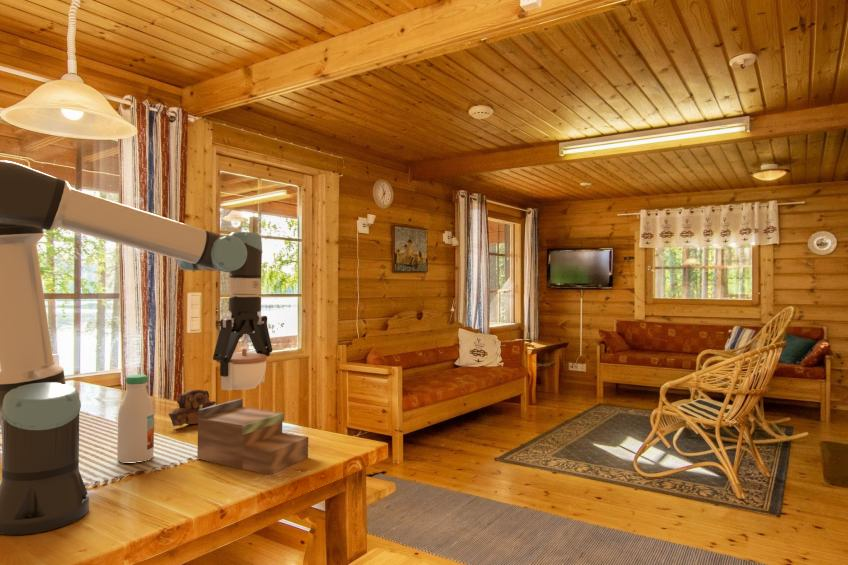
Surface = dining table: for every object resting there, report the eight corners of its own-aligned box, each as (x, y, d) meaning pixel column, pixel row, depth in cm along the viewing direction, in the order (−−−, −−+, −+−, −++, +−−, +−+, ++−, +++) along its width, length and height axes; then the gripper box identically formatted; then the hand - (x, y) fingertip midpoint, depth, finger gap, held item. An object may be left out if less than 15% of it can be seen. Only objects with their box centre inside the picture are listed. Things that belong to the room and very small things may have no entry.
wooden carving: (180, 432, 162) (181, 396, 162) (167, 430, 163) (167, 395, 163) (218, 418, 177) (219, 385, 177) (206, 417, 179) (206, 384, 179)
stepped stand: (270, 474, 129) (271, 421, 129) (197, 459, 139) (198, 409, 138) (308, 457, 142) (309, 408, 142) (239, 444, 151) (239, 398, 151)
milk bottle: (138, 466, 133) (140, 379, 133) (109, 463, 135) (110, 377, 134) (160, 455, 141) (161, 373, 140) (132, 453, 142) (133, 372, 142)
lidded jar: (239, 394, 134) (240, 353, 134) (211, 388, 140) (211, 349, 140) (275, 387, 143) (276, 349, 143) (247, 381, 149) (247, 345, 149)
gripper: (221, 297, 129) (220, 396, 129) (287, 295, 150) (286, 379, 150) (196, 296, 132) (195, 392, 133) (264, 294, 153) (263, 377, 154)
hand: (243, 385), depth 142 cm, fingers closed on lidded jar, 11 cm apart
